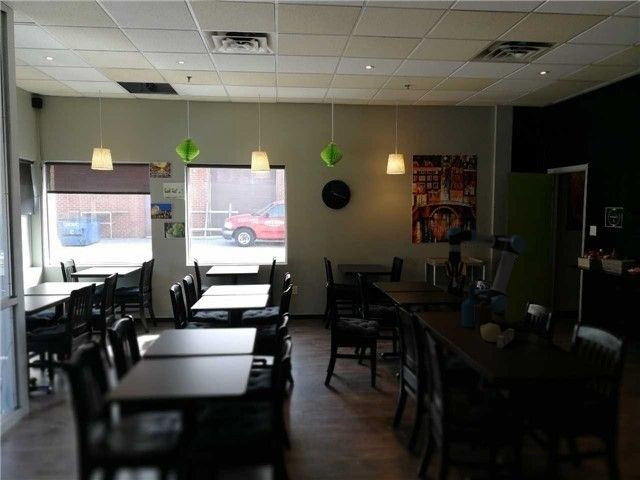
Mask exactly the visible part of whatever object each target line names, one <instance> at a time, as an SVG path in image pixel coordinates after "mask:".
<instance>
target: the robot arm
mask: <svg viewBox="0 0 640 480" xmlns="http://www.w3.org/2000/svg"><path fill="white" fill-rule="evenodd" d="M445 238H446V239H447V240H448V259H447V260H446V261H445V260H444V263H445V265H446V269H447V275H448V276H450V277H451V282H452V287H453V288H456V287H457V283H458V282H459V277H462V272H463V268H464V265H465V264H466V262H465V261H463V260H462V258H461V257H462V255H461V254H462V252H461V250H462V247H461V245H462V244H461V243H467V244H468V243H469V244H473V245H479V246H484V247H486V248H488V249H493V250H496V251H500V253H501V258H500V261H499V264H498V267H497V271H496V275H495V277H494V280H493V283H492V286H491V288H489V289H487V288H486V289H483V288H482V289H475V299H476V300H477V301H479V302H481V301H483V302H488V303H487V305H490V306H492V307H491V312H492V311H493V312H503V311H504V310H506V309H507V307H508V305H509V300H508V297H507V295H508V294H507V292H506V290H507V288H508V287H507V286H508V282H509V281H510V277H511V273H512V270H513V266H514V263H515V260H516V259H518V257H519V255H520V254H521V253H523V252H524V251H525V249H526V242H525V239H524V238H523V237H522V236H520V235H515V234H489V235H488V234H481V233H477V232H476V230H474V229H461V227H458V226H457V227H453V226H451V227H448V230H447V231H446V234H445ZM492 319H493V318H492V317H491V323H492V322H493V320H492ZM492 324H493V323H492Z"/></svg>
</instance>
